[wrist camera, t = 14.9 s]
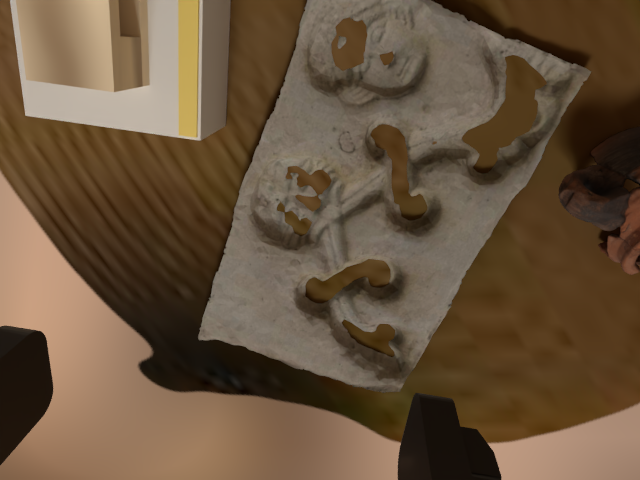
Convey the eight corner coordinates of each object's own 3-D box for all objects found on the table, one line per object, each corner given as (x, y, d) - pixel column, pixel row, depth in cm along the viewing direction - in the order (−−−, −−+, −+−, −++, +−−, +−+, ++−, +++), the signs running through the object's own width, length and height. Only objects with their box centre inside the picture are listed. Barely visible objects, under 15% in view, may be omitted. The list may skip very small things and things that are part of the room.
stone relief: (585, 71, 33) (324, -49, 31) (604, 74, 30) (321, -56, 28) (388, 392, 46) (197, 321, 44) (390, 413, 43) (187, 339, 41)
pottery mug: (713, 116, 33) (801, 199, 28) (629, 206, 40) (687, 285, 35) (563, 111, 31) (629, 199, 26) (503, 207, 38) (545, 291, 33)
